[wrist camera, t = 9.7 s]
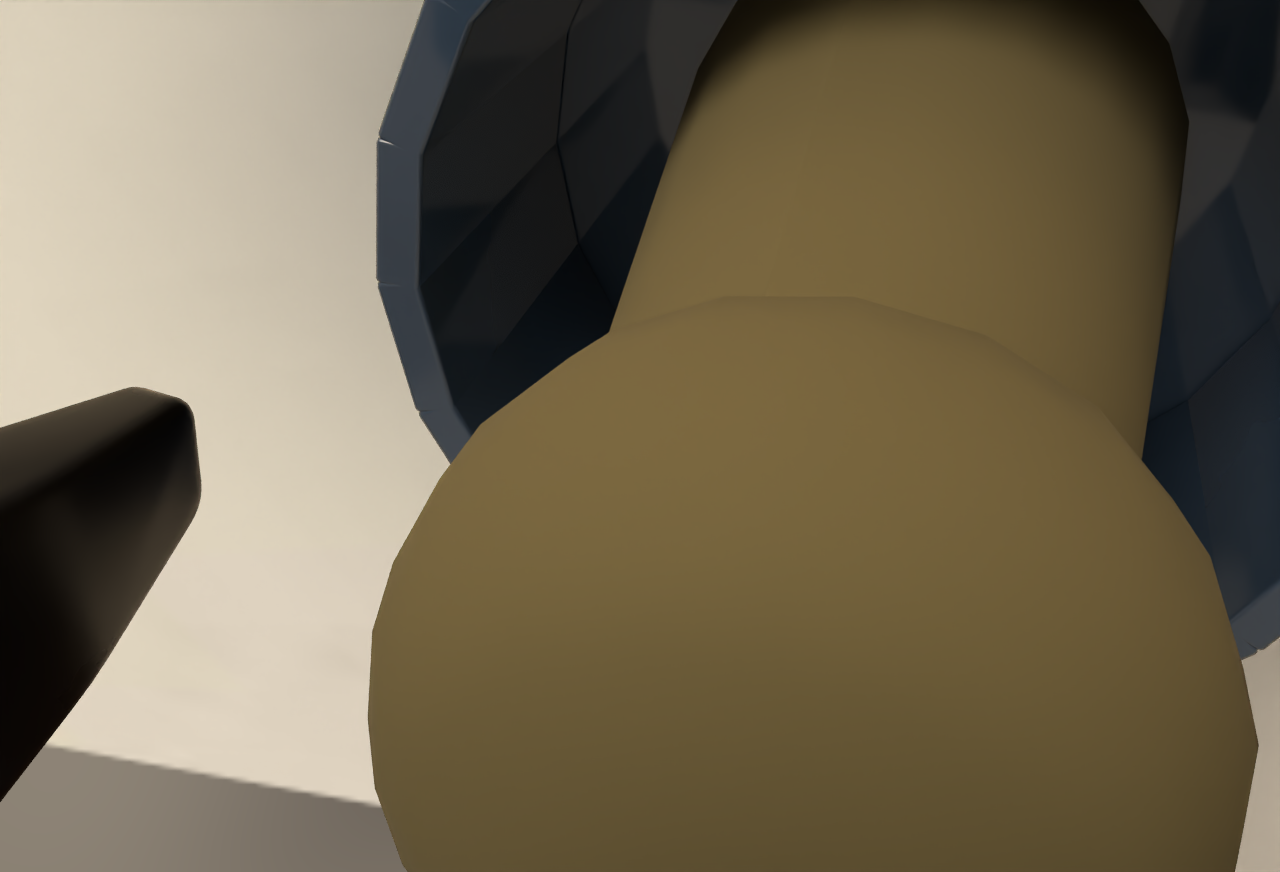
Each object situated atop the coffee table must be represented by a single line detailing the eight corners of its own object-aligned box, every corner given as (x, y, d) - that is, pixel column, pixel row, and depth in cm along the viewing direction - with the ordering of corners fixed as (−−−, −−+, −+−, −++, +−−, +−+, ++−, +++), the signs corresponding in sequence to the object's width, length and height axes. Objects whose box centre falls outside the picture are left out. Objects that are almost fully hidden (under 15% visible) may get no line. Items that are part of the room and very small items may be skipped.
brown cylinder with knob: (1118, 413, 16) (1191, 1386, 7) (674, 342, 17) (282, 1094, 9) (1259, -73, 12) (1728, 660, 4) (694, -115, 14) (67, 355, 5)
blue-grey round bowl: (1579, -218, 12) (1851, -131, 8) (1168, 559, 18) (1201, 835, 14) (581, -392, 13) (374, -394, 9) (515, 379, 19) (373, 579, 15)
